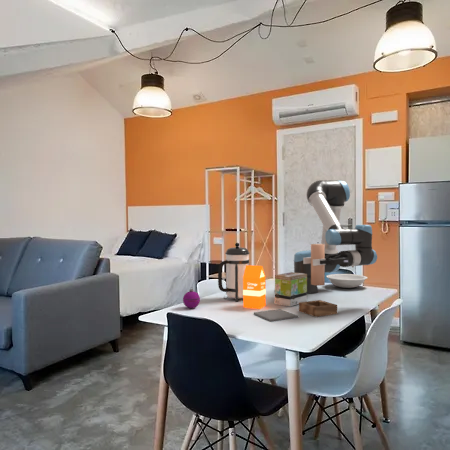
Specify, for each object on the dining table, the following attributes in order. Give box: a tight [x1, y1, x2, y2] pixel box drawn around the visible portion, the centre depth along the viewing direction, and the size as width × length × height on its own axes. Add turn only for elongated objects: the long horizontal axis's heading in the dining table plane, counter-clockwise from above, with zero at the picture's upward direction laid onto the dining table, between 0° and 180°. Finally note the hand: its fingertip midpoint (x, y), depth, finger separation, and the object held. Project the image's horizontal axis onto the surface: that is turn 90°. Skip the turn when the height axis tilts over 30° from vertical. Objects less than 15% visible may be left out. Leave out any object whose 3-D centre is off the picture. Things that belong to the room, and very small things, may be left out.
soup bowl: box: [325, 273, 368, 289], centre depth 242 cm, size 24×24×7 cm
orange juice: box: [242, 264, 267, 310], centre depth 193 cm, size 8×9×20 cm
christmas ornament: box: [182, 287, 201, 309], centre depth 191 cm, size 8×8×10 cm
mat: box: [253, 308, 299, 322], centre depth 174 cm, size 14×14×1 cm
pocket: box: [298, 299, 338, 318], centre depth 180 cm, size 12×12×4 cm
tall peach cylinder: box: [310, 243, 326, 287], centre depth 179 cm, size 6×6×18 cm
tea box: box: [274, 271, 308, 307], centre depth 200 cm, size 15×10×15 cm, turn 137°
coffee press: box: [217, 242, 250, 303], centre depth 210 cm, size 17×16×30 cm
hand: (308, 261), depth 177 cm, fingers closed on tall peach cylinder, 6 cm apart
